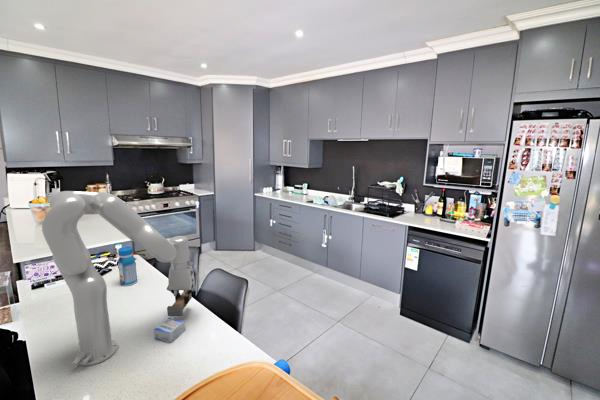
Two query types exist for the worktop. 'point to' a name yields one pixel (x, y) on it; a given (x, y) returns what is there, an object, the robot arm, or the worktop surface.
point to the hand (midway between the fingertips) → (182, 302)
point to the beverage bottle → (127, 266)
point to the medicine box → (169, 329)
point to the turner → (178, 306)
